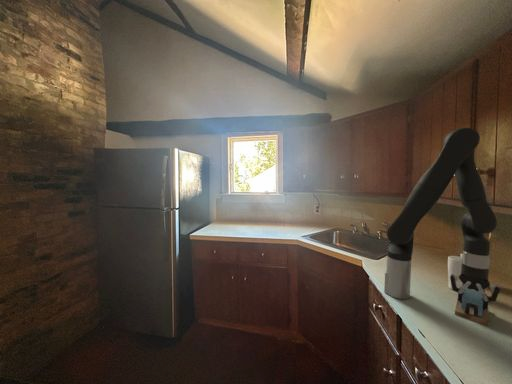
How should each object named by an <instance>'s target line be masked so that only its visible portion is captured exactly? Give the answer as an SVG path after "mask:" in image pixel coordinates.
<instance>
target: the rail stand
mask: <svg viewBox="0 0 512 384" xmlns="http://www.w3.org/2000/svg"><path fill="white" fill-rule="evenodd" d="M455 305H456V306H455V309H454V315H456V316H459V317H461V318H464V319H467V320H471V321H474V322H477V323H479V324H482V325H485V326H489V324H490V323H489V322H490V321H489V318H490V317H489V316H490V314H489V313H490V311H489V306H488V309H485V310H483V311H482V316H480V315H478V306H477V305H474V304H471V303H467V302H466V309H465V311H464V310H461V306H462V303H460V301H458V299H457V300H456V304H455Z"/></svg>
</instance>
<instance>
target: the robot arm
mask: <svg viewBox="0 0 512 384" xmlns="http://www.w3.org/2000/svg"><path fill="white" fill-rule="evenodd" d="M480 139H481V137H480V134H479V132H478V131H477V129H474V128H472V127H461V128H457V129H455V130H452V131H450V132H448V133H447V134H446V136H445V137H444V139H443V147H442V149H441V151H440V152H439V154H438V156H437V158H436V160H435V161H434V162H433V163H432V164H431V166H430V167H429V168H428V169H427V170H426V171H425V172H424V173H423V174H422V175H421V177H420V178H419V179H418V180H417V183H416V184H415V185H414V187H413V189H412V191H411V192H410V194H409V195H408V197H407V200H406V202H405V203H404V206H403V207H402V209H401V211H400V213H399V214H398V215H397V217H395V219H394V220H393V222H391V224H390V225H389V226H388V227H387V229H386V236H387V239H388V248H387V250H386V252H387V253H386V271H385V272H384V289H383V290H384V291H383V293H386V294H388V295H389V296H390V297H392V298H395V299H397V300H398V299H399V300H407V299H410V297H411V282H412V280H411V278H412V261H413V260H412V256H413V251H414V250H413V249H414V236H415V232H414V231H415V230H416V228H417V227H418V225H419V223H420V222H421V220H422V219H424V218H423V217H425V216H426V215H427V214H428V212H430V211H431V209H433V207H434V206H435V205H436V203H437V202H438V201H439V199H440V198H441V196H442V195H443V194H444V192H445V191H446V190H447V188H448V186H449V185H450V183H451V181H452V179H453V178H454V176H455V179H456V184H457V190H458V195H459V200H460V202H461V206H462V207H464V208H466V209H467V210H468V212H466V213H464V214H463V215H462V217H461V219H460V226H461V232H462V237H463V250H462V253H461V254H462V265H461V274H460V275H459V276H457V275H454V274H451V276H450V279H451V285H452V289H451V290H452V291H454V292H457V300H458V301H460V303H462V295H463V292H464V291H465V290H466V289H471V290H475V291H479V292H480V294H481V295H482V297H483V310H485V309H488V307H489V302H493V303H494V302H496V301H497V298H498V296H499V294H500V290H501V287H500V285H499V284H492V283H490V280H489V275H490V266H491V264H490V263H491V261H490V260H491V259H490V250H491V242H490V240H489V239H487V238H486V237H485V235H484V234H490V233H492V232H494V231H495V230H496V228H497V226H498V220H497V217H496V215H495V212H494V211H493V209H492V207H491V206H490V204H489V203H488V200H487V194H486V190H485V185H484V183H483V180H482V177H481V175H480V173H479V170H478V168H477V166H476V161H475V157H474V151H475V149H476V148H477V147H478V145H479V144H480V141H481V140H480ZM458 279H460V280H461V282H462V283H463V284H462V286H461V287H460V288H457V286H456V281H457V280H458ZM489 287H490V290H491V291H492V293H491V295H489V296H488V294H487V292H486V289H488V288H489Z"/></svg>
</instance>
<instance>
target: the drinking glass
mask: <svg viewBox="0 0 512 384" xmlns="http://www.w3.org/2000/svg"><path fill="white" fill-rule="evenodd" d="M461 265H462V257H460V256H458V255H448V256H447V279H448V284H447V287H448V288H449V289H450V290H452V285H451V279H450V276H451V274H454V275H457V276H459V275H460V274H461ZM462 284H463V283H462V282H461V280H460V279H458V280H457V281H456V286H457V288H460V287H461V286H462Z"/></svg>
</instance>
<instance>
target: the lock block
mask: <svg viewBox="0 0 512 384" xmlns="http://www.w3.org/2000/svg"><path fill="white" fill-rule="evenodd" d="M466 302H467V303H471V304H474V305H477V306H478V315H480V316H482V311H483V297H482V295H481V294H480V291H475V290H473V289H468V288H467V289H466V290H465V291H464V292H463V295H462V306H461V310H464V311H465V309H466Z"/></svg>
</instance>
